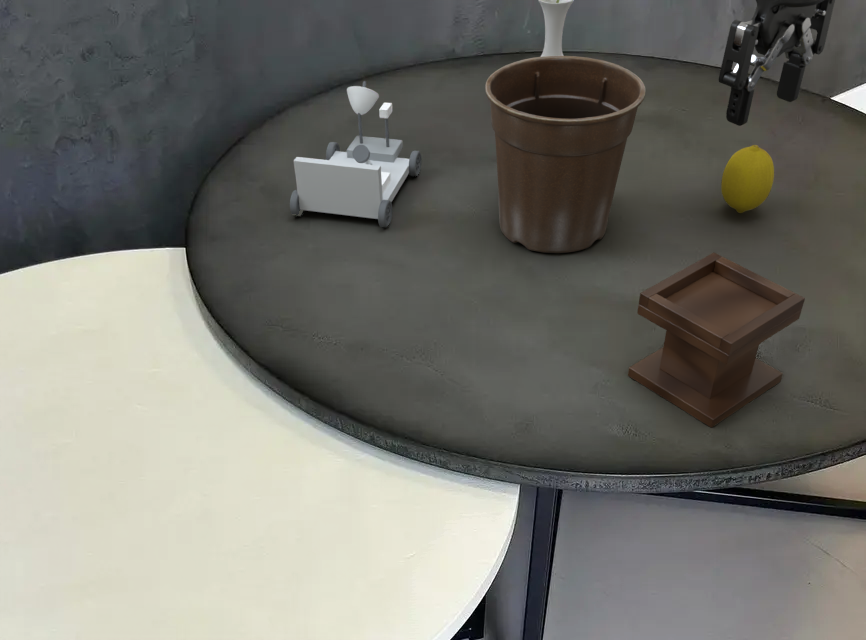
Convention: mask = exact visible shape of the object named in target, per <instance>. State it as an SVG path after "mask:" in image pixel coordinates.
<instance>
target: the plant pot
mask: <svg viewBox="0 0 866 640" xmlns="http://www.w3.org/2000/svg"><path fill="white" fill-rule="evenodd" d="M484 87H485V94H486V97H487V99H488V101H489V105H490V118H491V119H490V121H491V127H492V130H493V131H494V138H495V139H494V141H495V155H496V172H497V189H498V190H497V192H498V215H499V220H498V221H499V227H500V231H501V233H502V235H504V237H505V238H506V239H507V240H508V241H510V242H511V243H513V244H517V243H520V244H521V245H523V246H524V247H525V248H526V249H527V250H529V251H532V252H533V251H534V252H538V253H545V254H566V253H573V252H578V251H582V250H585V249H588V248H589V247H591V246H592V245H593V244H594V243H595V241H597V240H598V241H600V240H602V239H603V237H604V236H605V234H606V232H607V228H608V223H609V219H610V213H611V209H612V204H613V200H614V196H615V192H616V187H617V182H618V178H619V174H620V170H621V165H622V162H623V157H624V153H625V150H626V145H627V141H628V138H629V136H630V135H631V133H632V131H633V128H634V125H635V124H634V123H635V121H636V116H637V113H638V108H639V107H640V106H641V105H642V104H643V102H644V100H645V97H646V96H645V95H646V86H645V83H644V82H643V81H642V79H641V78H640V77H639V76H638V75H637V74H635V73H634V72H632V71H631V70H630V69H627V68H626V67H623V66H621V65H619V64H617V63H613V62H610V61H607V60H603V59H597V58H591V57H586V56H585V57H584V56H578V55H577V56H576V55H564V56H544V57H541V56H536V57H530V58H525V59H521V60H517V61H514V62H511V63H509V64H506V65H503V66H502V67H500V68H499V69H497V70H495V71H493V73H491V74H490V76H488V78H487V80H486V81H485V86H484Z"/></svg>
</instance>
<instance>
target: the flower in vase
mask: <svg viewBox="0 0 866 640" xmlns="http://www.w3.org/2000/svg"><path fill="white" fill-rule="evenodd" d="M537 1H538V3H539V5H540V7H541V9H542V12H543V17H544V18H543V19H544V45H543V49H542V53H541V55H540V57H544V56H565V55H564V53H563V32H564V27H565V22H566V17H567V14H568V11H569V9H570V8H571V6H572V4H573V3H574V2H575V0H537Z"/></svg>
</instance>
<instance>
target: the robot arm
mask: <svg viewBox="0 0 866 640" xmlns="http://www.w3.org/2000/svg"><path fill="white" fill-rule="evenodd" d="M755 1H756V7H755V9H754V10H755V11H754V12H753V15H752V17H751V19H750V20H747V21H742V20H739V19H734V20H733V21H732V23H731V24H730V27H729V32H728V35H727V39H726V44H725V49H724V52H723V53H724V54H723V57H722V62H721V66H720V70H719V76H718V83H719V84H722V85H725V86H728V87H730V91H729V92H730V93H729V98H728V104H727V109H726V112H725V115H726V116H725V117H726V120H727V122H729V123H731V124H733V125H736V126H738V127H741V126H743V125H746V124H747V123H748V120H749V116H750V112H751V107H752V102H753V98H754V93H755V89H754V88H755V87H756V85H757V84H758V82H759V80H760V78H761V76H762V75H763V73H764V72H767V71H768V70H770V69H771V67H772V66H773V64H774V62H775V60H777V58H779V57H780V56H781V55H782V54H784V55H785V58H786V59H787V60H785V61H783V65H782V69H781V73H780V76H779V77H780V78H779V81H778V85H777V89H776V97H777V98H778V99H780V100H784V101H786V102H787V103H792V102H794V101H797V99H798V98H799V95H800V90H801V87H802V82H803V78H804V74H805V70H806V67H807V66H809V65H810V64H811V61H812V60H813V56H814V55H818V56H819V55H821V54H822V53H823V51H824V49H825V46H826V41H827V37H828V32H829V29H830V24H831V20H832V15H833V11H834V7H835V3H836V0H755ZM812 30H815V31H816V36H815V39H814V37H813V34H812ZM754 50H755V51H756V52H757V54H760V55H762V56H758V55H756V54H754ZM734 63H735V66H734ZM733 66H734V68H733ZM750 67H753V68H752V69H751V72H750V73H749V71H750ZM732 69H733V70H732Z"/></svg>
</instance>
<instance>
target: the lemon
mask: <svg viewBox="0 0 866 640" xmlns="http://www.w3.org/2000/svg"><path fill="white" fill-rule="evenodd" d="M774 179H775V165H774V161H773V159H772V157H771V155H770V154H769V153H768V152H767V151H766V150H765V149H763V148H761V147H759V145H758V144H752V145H750V146H745V147H743V148H740V149H739V150H737V151H736V152H734V153H733V154H732V155H731V157H730V158H729V160H728V161H727V163H726V165H725V167H724V169H723V172H722V176H721V185H720V190H721V195H722V197H723V198H722V199H723V201H724V202H725V203H726V204H727V206H729V207H730V208H732V209H734V210H735V211H736V212H737V213H738V214H743V213H744V212H747V211H751V210H755V209H756V208H758V207H760V206H761V205H762V204H763V203H764V202H765V201H766V199H767V198H768V196H769V195H770V194H771V191H772V188H773V184H774Z"/></svg>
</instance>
